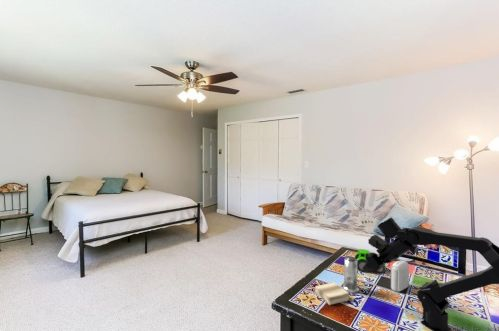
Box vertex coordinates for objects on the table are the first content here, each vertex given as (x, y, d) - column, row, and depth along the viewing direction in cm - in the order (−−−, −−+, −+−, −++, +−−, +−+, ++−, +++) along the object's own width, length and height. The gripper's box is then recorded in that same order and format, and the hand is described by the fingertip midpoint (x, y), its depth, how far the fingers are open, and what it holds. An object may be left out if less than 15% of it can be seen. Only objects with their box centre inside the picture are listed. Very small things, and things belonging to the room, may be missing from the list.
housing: (362, 291, 113) (362, 260, 112) (349, 294, 111) (350, 262, 110) (351, 284, 119) (351, 254, 119) (339, 286, 117) (339, 256, 117)
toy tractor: (387, 275, 128) (387, 256, 127) (353, 271, 133) (353, 253, 133) (383, 267, 138) (383, 249, 138) (352, 263, 143) (352, 246, 143)
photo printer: (400, 282, 120) (400, 257, 120) (410, 286, 117) (410, 260, 116) (389, 289, 115) (389, 262, 114) (399, 293, 111) (399, 265, 111)
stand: (349, 300, 106) (349, 293, 106) (329, 304, 103) (329, 297, 103) (333, 288, 116) (333, 282, 115) (315, 292, 112) (315, 286, 112)
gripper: (391, 226, 109) (366, 245, 118) (370, 235, 98) (344, 254, 107) (411, 249, 103) (384, 267, 112) (391, 261, 92) (362, 279, 101)
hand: (368, 266), depth 108 cm, fingers open, 9 cm apart
